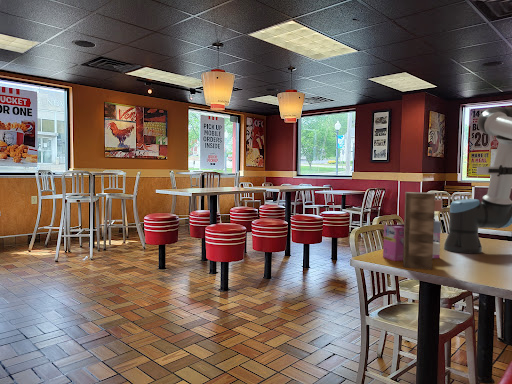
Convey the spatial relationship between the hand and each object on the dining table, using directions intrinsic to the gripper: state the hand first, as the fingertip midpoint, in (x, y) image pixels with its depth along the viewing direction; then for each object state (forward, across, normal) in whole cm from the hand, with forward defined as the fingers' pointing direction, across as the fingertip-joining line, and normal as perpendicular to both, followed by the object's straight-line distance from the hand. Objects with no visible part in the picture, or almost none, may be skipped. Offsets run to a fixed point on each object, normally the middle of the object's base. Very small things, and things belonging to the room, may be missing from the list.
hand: (477, 170), depth 136 cm
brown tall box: (+19, 0, -36) cm, 41 cm away
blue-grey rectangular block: (+16, 0, -23) cm, 28 cm away
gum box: (+20, +14, -36) cm, 44 cm away
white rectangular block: (+16, 0, -31) cm, 35 cm away
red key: (+16, 0, -15) cm, 22 cm away
